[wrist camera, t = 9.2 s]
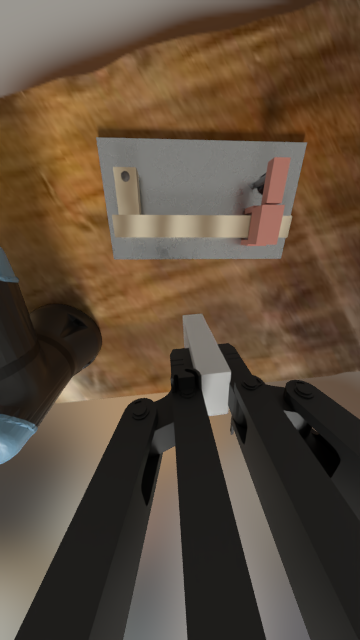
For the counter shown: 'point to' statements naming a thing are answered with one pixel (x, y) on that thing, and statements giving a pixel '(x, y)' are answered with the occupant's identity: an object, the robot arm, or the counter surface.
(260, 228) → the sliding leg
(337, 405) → the robot arm
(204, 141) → the steel plate
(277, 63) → the counter surface
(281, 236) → the beam with fixed leg
